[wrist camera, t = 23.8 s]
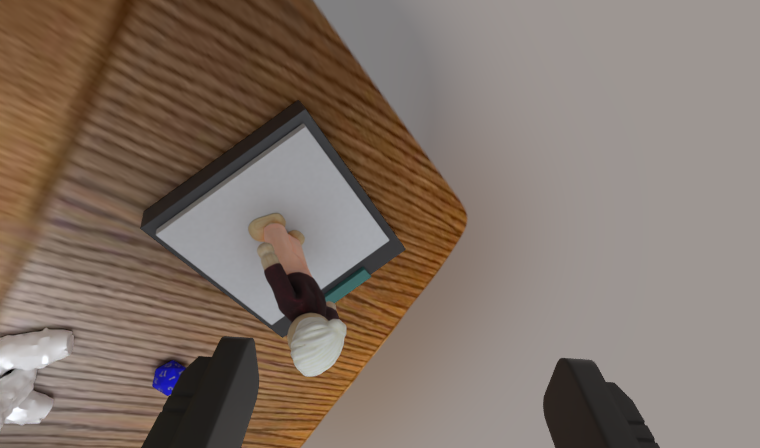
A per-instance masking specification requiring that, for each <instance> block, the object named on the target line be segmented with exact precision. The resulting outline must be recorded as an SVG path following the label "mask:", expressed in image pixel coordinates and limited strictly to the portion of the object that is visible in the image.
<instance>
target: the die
mask: <svg viewBox="0 0 760 448" xmlns="http://www.w3.org/2000/svg"><path fill="white" fill-rule="evenodd" d="M185 369H186V368H185V367H184V366H182V365H180V364H179V363H177V362H176V361H174V360H172V361H170V362H168V363H166V364H164V365H163V366H161V367H159V368H157V369H156V371H155V376H154V381H153V385H152V386H153V387H154V388H156V389H157V390H159V391H160V392H162V393H164V394H165V395H167V396H169V395H170V394H171V393H172V390H173V388H174V386H175V384H176V382H177V381H178V379H179V377H180V375H181V373H182V372H183V371H184V370H185Z"/></svg>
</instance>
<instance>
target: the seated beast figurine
mask: <svg viewBox="0 0 760 448" xmlns="http://www.w3.org/2000/svg"><path fill="white" fill-rule="evenodd" d="M72 333H73V332H72V331H68V330H64V329H55V330H54V329H48V328H47V327H46V328H45V329H44V330H43V331H40V332H30V333H24V334H18V335H13V336H11V335H6V336H4V337H2V338H0V429H1V428H2V426H3V424H4V423H6V424H10V423H14V424H19V425H24V424H25V423H27V424H39V423H40V422H41V419H42V418H45V417H46V416H47V414H48V413H49V411H50V410H51V408H52V406H53V403H54V399H53V398H50V397H48V396H47V395H46V394H42V393H39V392H36V391H33V388H34V381H35V380H36V375H37V370H38V368H39V369H41V368H44V367H45V366H47V365H48V364H51V363H54V362H55V361H57V360H60V359H63V358H65V357H67V356H69V355H70V354H71V353H72V350H73V346H74V335H72ZM10 369H14V370H13V371H12V372H11V373H6V372H7V371H8V370H10ZM0 432H1V430H0Z"/></svg>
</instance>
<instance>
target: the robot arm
mask: <svg viewBox="0 0 760 448" xmlns="http://www.w3.org/2000/svg"><path fill="white" fill-rule="evenodd" d="M258 388H259V373H258V365H257V357H256V349H255V342H254V339H253V338H244V337H227V336H224V337H222V338H221V340H220V342H219V343H218V346H217V348H216V350H215V352H214V354H213V356H212V357H203V356H199V357H198V358H197V359H196V360H195V361H194V362H192V363H191V364H190V365H189V366H188V367H187V368H186V369H185V370H184V371H183V372H182V373H181V375H180V377H179V379H178V381H177V382H176V384H175V386H174V388H173V390H172V393H171V396H169V397H168V399H167V401H166V403H165V405H164V406H163V410H162V412H160V414H159V416H158V418H157V419H156V421H155V423H154V425H153V427H152V429H151V430H150V432H149V434H148V436H147V438H146V440H145V442H144V443H143V445H142V447H141V448H241V446H242V442H243V439H244V436H245V433H246V430H247V427H248V424H249V421H250V418H251V415H252V412H253V409H254V406H255V402H256V399H257V394H258ZM543 409H544V416H545V419H546V423H547V426H548V428H549V431H550V434H551V437H552V440H553V442H554V445H555V448H660V447H659V446H658V444H657V443H655V441H654V437H653V435H652V433H651V432H650V430H649V428H648V426H645V424H644V420H643V418H642V416H641V415H640V413H639V411H638V409H637V408H636V406H635V404H634V402H633V401H632V400H631V399H630V398H629V397H628V396H627V395H626V394H625V393H624V392H623V391H622V390H621V389H620V388H619V387H618V386H617V385H616V384H615V383H611V382H605V380H604V378H603V376H602V374H601V372H600V370H599V369H598V367H597V365H596V364H595V363H594V362H593V361H592V360H583V359H568V358H561V359H559V361H558V362H557V365H556V367H555V370H554V372H553V375H552V377H551V380H550V382H549V385H548V387H547V390H546V392H545V395H544V402H543Z"/></svg>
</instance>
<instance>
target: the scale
mask: <svg viewBox="0 0 760 448" xmlns="http://www.w3.org/2000/svg"><path fill="white" fill-rule="evenodd" d="M273 213H278V214H281V215H282V216H283V217H284V219H285V221H286V225H285V229H286V231H287V233H288V232H290V231H292V230H297V231H300V232H301V233H302V234H303V235H304V237H305V241H304V243H303V245H302V249H303V253H304V257H305V259H306V263H307V266H308V268H309V271H310V273H311V275H312V277H313V278H314V279H315V281H316V282H317V283H318V285H319V287H320V289H321V290H322V292H323V294H324V296H325V300H326V302H328V301H331V302H333V303H335V302H337V301H338V300H340V299H341V298H342V297H344V296H345V295H346V294H348V293H349V292H351V291H352V290H353V289H355V288H356V287H358V286H359V285H360V284H362V283H363V282H365V281H366V280H367V279H369V278H370V277H371V276H370V275H371V274H372V273H373V272H375V271H376V270H378V269H379V268H380V267H382V266H383V265H385V264H386V263H387V262H389V261H390V260H392V259H393V258H394V257H396V256H397V255H398V254H400V253H401V252H403V251H404V250H405V248H404V246H403V245H402V243H401V242H400V241H399V239H398V238H397V236H396V235H395V233H394V232H393V231H392V229H391V228H390V226H389V225H388V224H387V222H386V221H385V219H384V218H383V217H382V215H381V214H380V212H379V211H378V210H377V208H376V207H375V205H374V204H373V203H372V201H371V200H370V198H369V197H368V196H367V194H366V193H365V191H364V190H363V189H362V187H361V186H360V184H359V183H358V182H357V180H356V179H355V177H354V176H353V175H352V173H351V172H350V170H349V169H348V168H347V166H346V165H345V163H344V162H343V161H342V159H341V158H340V156H339V155H338V153H337V152H336V151H335V149H334V148H333V146H332V145H331V144H330V142H329V141H328V139H327V138H326V137H325V135H324V134H323V132H322V131H321V130H320V128H319V127H318V125H317V124H316V123H315V121H314V120H313V118H312V117H311V116H310V114H309V113H308V111H307V110H306V109H305V107H304V106H303V105H302V103H301V102H300V101H299V100H298V101H296V102H295V103H293V104H292V105H291V106H289V107H288V108H286V109H285V110H284V111H282V112H281V113H280V114H278V115H277V116H275V117H274V118H273V119H271V120H270V121H269V122H267V123H266V124H264V125H263V126H262V127H260V128H259V129H258V130H256V131H255V132H253V133H252V134H251V135H249V136H248V137H246V138H245V139H244V140H242V141H241V142H240V143H238V144H237V145H235V146H234V147H233V148H231V149H230V150H229V151H227V152H226V153H224V154H223V155H222V156H220V157H219V158H217V159H216V160H215V161H213V162H212V163H211V164H209V165H208V166H206V167H205V168H204V169H202V170H201V171H200V172H198V173H197V174H195V175H194V176H193V177H191V178H190V179H188V180H187V181H186V182H184V183H183V184H182V185H180V186H179V187H177V188H176V189H175V190H173V191H172V192H171V193H169V194H168V195H166V196H165V197H164V198H162V199H161V200H160V201H158V202H157V203H155V204H154V205H153V206H151V207H150V208H148V209H147V210H146V211H144V213H143V218H142V223H141V227H140V229H141V230H143V231H144V232H145V233H147V234H148V235H149V236H151V237H152V238H153V239H154V240H156V241H157V242H158V243H160V244H161V245H162V246H164V247H165V248H166V249H168V250H169V251H170V252H171V253H173V254H174V255H175V256H177V257H178V258H179V259H181V260H182V261H183V262H184V263H186V264H187V265H188V266H190V267H191V268H192V269H194V270H195V271H196V272H198V273H199V274H200V275H201V276H203V277H204V278H205V279H207V280H208V281H209V282H211V283H212V284H213V285H214V286H216V287H217V288H218V289H220V290H221V291H222V292H224V293H225V294H226V295H228V296H229V297H230V298H231V299H233V300H234V301H235V302H237V303H238V304H239V305H241V306H242V307H243V308H244V309H246V310H247V311H248V312H250V313H251V314H252V315H254V316H255V317H256V318H258V319H259V320H260V321H261V322H263V323H264V324H265V325H267V326H268V327H269V328H271V329H272V330H273V331H274V332H276V333H277V334H278V335H280V336H281V337H282V338H283V337H284V336H286V335H287V334H288V330H289V327H290V325H291V324H292V322H291V321H290V320H289V319H288V318H287V317H286V316H285V315H284V314H282V313H281V311H280V310H279V308H278V304H277V302H276V299H275V296H274V293H273V291H272V288H271V287H270V285H269V283H268V282H267V280H266V277H265V274H264V269H263V266H262V264H261V258H260V257H259V256H258V254H257V248H258V246H259V245H260V244H262V243H265V242H259V241H256V240H254V239H253V238H252V237H251V235H250V234H249V231H248V227H249V224H250V223H251V222H252V221H253V220H255V219H257V218H260V217H264V216H267V215H269V214H273Z"/></svg>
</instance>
